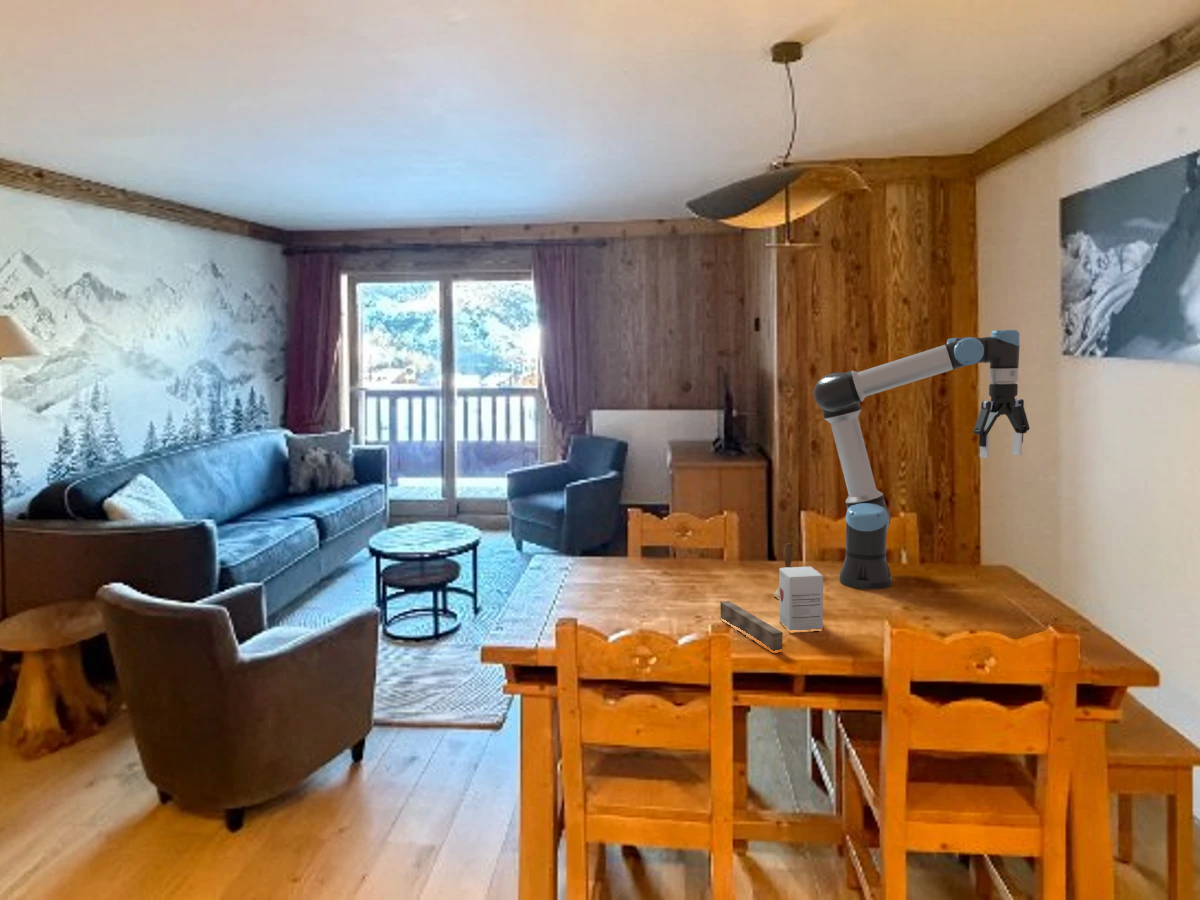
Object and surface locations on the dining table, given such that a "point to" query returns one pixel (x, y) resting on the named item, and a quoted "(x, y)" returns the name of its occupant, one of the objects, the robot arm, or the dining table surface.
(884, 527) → the robot arm
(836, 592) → the dining table surface
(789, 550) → the hand bell
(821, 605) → the supplement box
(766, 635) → the board
